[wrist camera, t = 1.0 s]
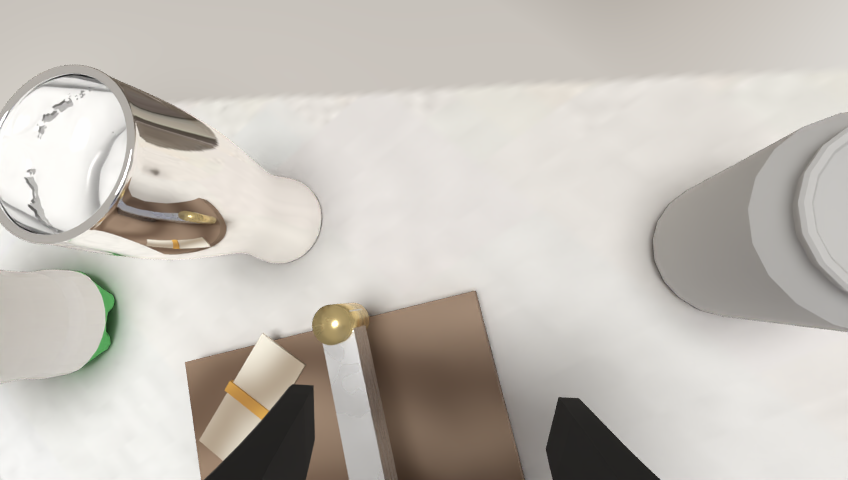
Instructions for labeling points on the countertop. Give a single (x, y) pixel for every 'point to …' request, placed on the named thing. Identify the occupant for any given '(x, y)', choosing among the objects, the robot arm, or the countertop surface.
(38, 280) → the cup
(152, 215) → the beer glass
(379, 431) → the grey bar with knobs
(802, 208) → the can
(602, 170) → the countertop surface
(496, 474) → the brown flat wooden board
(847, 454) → the countertop surface
